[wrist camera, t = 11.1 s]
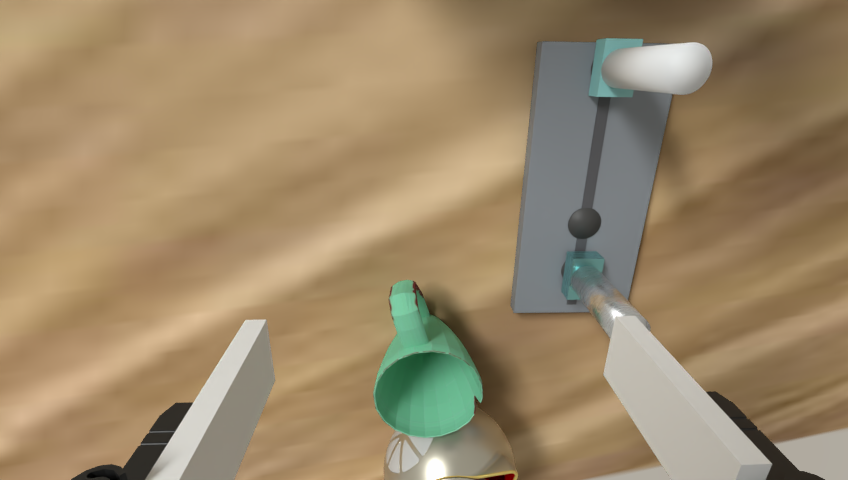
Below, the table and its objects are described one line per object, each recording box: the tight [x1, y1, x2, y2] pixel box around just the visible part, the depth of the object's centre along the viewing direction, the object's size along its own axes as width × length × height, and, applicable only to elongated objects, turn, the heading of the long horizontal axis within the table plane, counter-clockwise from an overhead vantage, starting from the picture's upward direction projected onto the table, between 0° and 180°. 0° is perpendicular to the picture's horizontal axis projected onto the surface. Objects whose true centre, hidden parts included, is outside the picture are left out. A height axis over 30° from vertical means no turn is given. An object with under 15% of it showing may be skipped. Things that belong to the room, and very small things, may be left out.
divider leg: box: [561, 251, 650, 339], centre depth 38 cm, size 4×3×11 cm
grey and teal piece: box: [511, 38, 712, 313], centre depth 36 cm, size 26×12×12 cm, turn 179°
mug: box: [373, 280, 483, 438], centre depth 42 cm, size 15×10×10 cm
